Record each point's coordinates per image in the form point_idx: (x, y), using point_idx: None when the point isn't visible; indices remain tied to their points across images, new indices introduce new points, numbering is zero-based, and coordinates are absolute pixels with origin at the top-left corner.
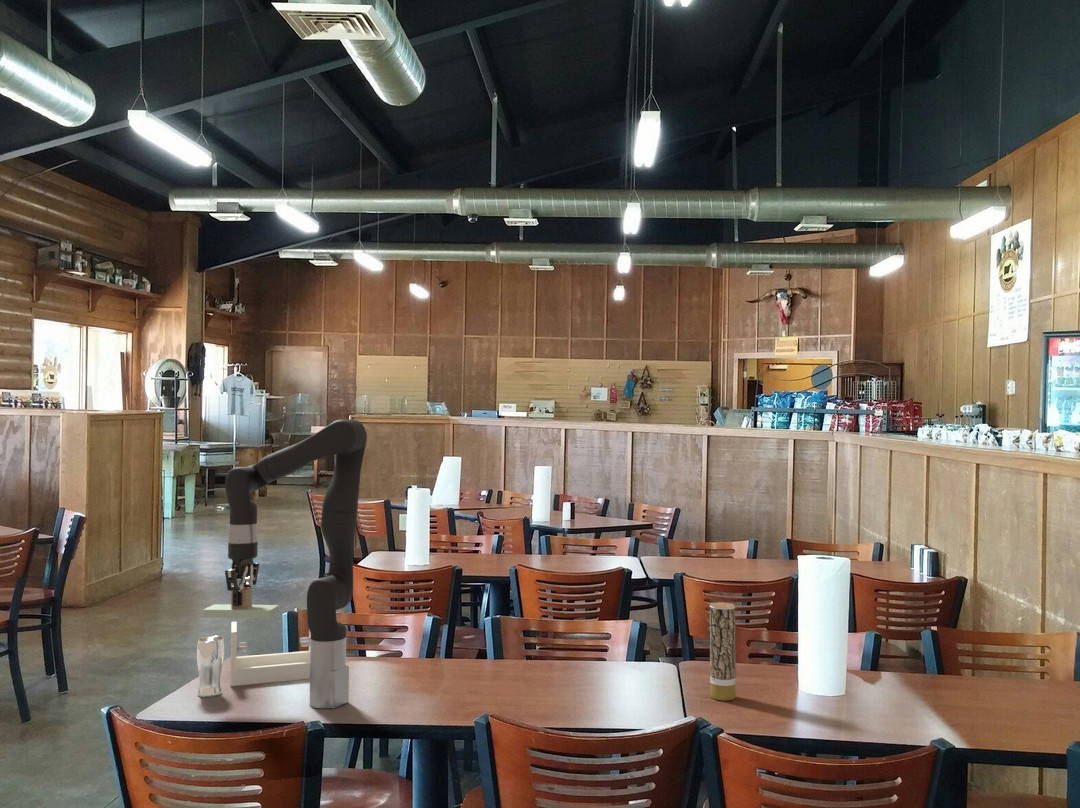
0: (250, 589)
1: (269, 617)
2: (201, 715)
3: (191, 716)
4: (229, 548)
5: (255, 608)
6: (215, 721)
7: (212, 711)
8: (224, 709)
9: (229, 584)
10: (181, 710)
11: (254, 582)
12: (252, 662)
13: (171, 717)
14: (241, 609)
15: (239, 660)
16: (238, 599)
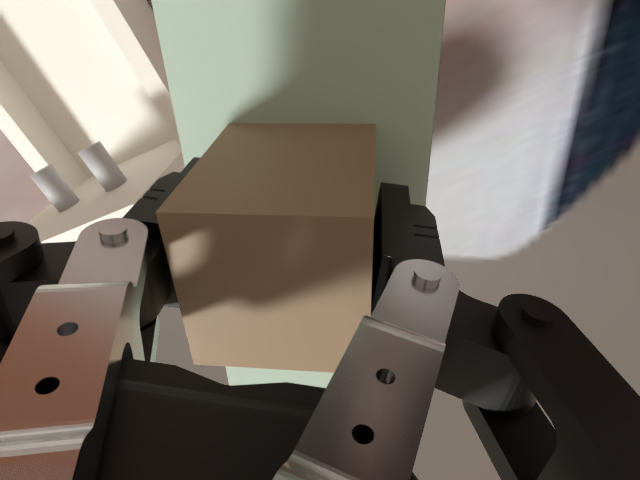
0: (220, 203)
1: None
2: (525, 101)
3: (530, 129)
4: None
5: (347, 30)
6: (603, 21)
7: (486, 81)
8: (467, 47)
9: (540, 449)
10: (466, 182)
11: (20, 245)
12: (43, 135)
13: (531, 184)
14: (399, 157)
15: (67, 178)
16: (416, 231)
